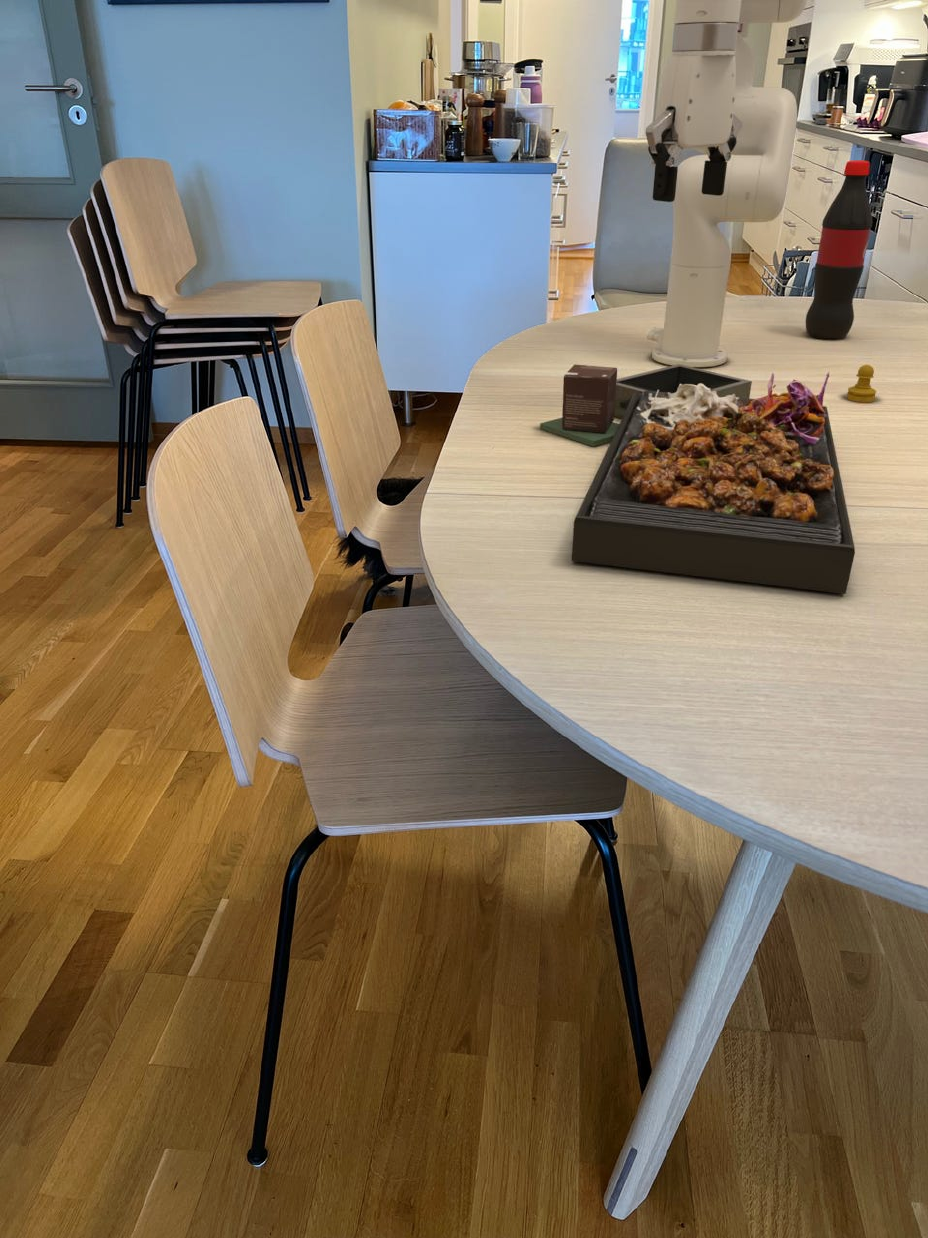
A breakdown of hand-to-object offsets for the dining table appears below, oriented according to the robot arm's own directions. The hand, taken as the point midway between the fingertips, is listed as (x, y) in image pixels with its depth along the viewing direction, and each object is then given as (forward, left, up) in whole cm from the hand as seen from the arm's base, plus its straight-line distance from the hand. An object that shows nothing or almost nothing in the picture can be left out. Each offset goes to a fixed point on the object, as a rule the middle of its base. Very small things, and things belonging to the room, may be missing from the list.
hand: (688, 197), depth 119 cm
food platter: (+25, -22, -28) cm, 44 cm away
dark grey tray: (+2, -1, -28) cm, 28 cm away
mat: (0, -17, -28) cm, 32 cm away
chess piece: (+15, +26, -28) cm, 41 cm away
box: (0, -17, -27) cm, 32 cm away
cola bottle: (-12, +61, -28) cm, 68 cm away
